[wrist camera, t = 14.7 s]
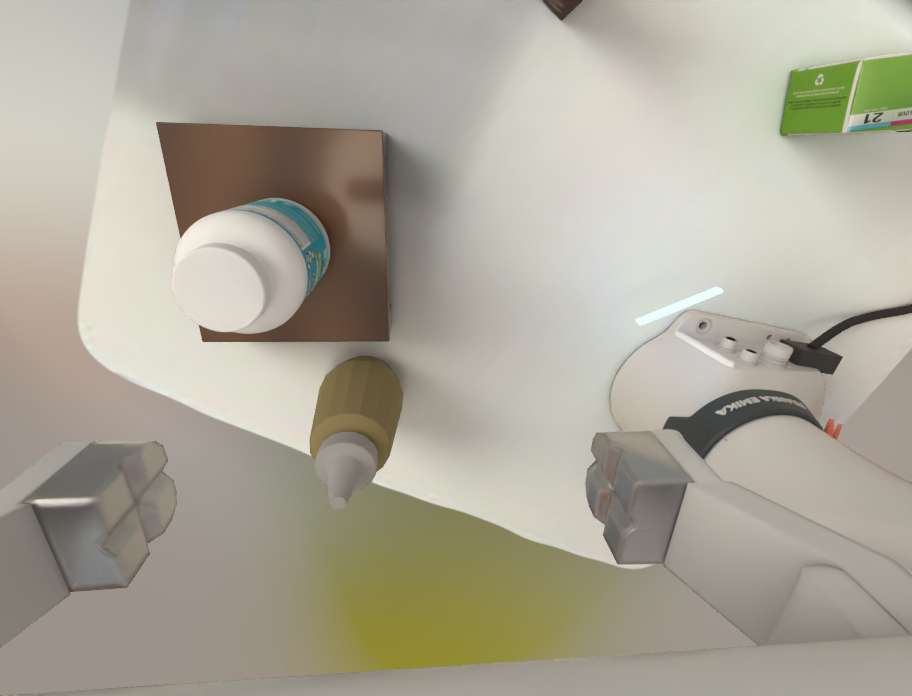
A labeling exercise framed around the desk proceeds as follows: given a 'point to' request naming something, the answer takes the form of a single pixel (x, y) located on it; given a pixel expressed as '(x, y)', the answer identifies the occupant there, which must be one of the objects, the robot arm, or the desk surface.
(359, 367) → the squeeze bottle
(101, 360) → the desk surface
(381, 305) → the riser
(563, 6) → the box
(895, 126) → the ink box
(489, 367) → the desk surface
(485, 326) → the desk surface
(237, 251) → the pill bottle
